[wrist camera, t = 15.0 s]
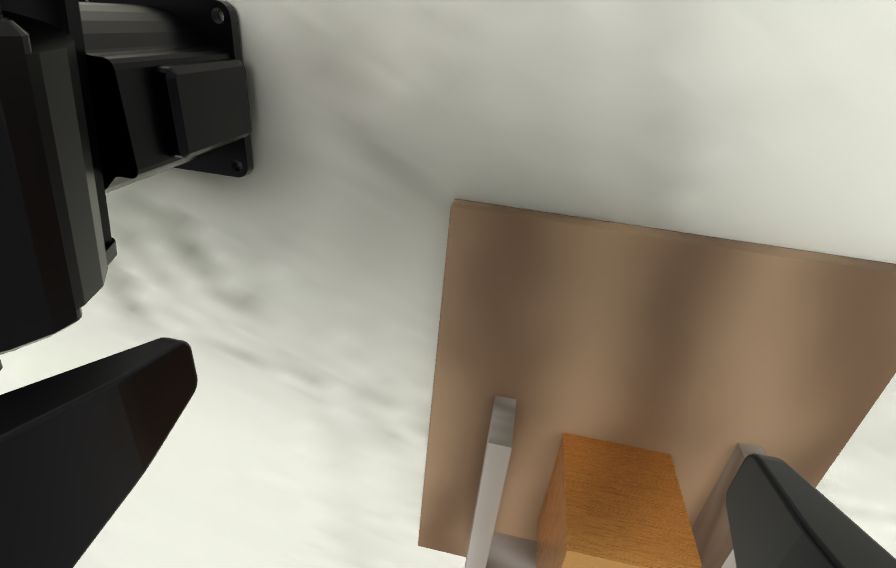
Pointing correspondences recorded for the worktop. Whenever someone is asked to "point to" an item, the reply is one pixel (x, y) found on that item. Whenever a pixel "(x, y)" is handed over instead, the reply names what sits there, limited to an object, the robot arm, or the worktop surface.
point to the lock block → (613, 509)
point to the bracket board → (637, 366)
